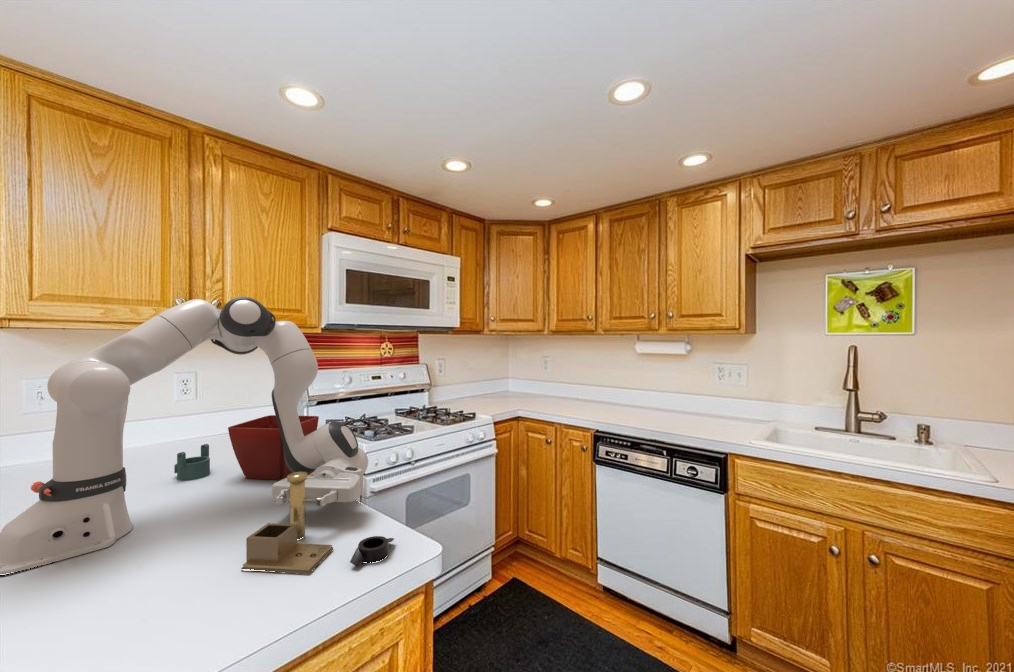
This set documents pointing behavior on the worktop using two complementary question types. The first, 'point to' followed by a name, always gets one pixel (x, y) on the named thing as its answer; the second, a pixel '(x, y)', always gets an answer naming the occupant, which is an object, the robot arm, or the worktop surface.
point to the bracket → (193, 465)
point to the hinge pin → (297, 501)
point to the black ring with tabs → (371, 550)
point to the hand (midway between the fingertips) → (299, 502)
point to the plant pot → (264, 446)
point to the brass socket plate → (282, 550)
